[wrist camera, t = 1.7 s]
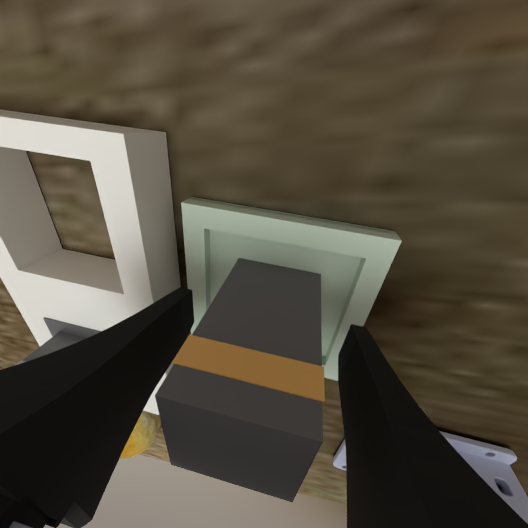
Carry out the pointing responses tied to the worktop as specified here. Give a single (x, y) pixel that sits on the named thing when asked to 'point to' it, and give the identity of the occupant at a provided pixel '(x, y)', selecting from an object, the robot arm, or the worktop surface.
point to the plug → (250, 382)
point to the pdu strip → (117, 219)
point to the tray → (289, 260)
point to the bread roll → (142, 434)
